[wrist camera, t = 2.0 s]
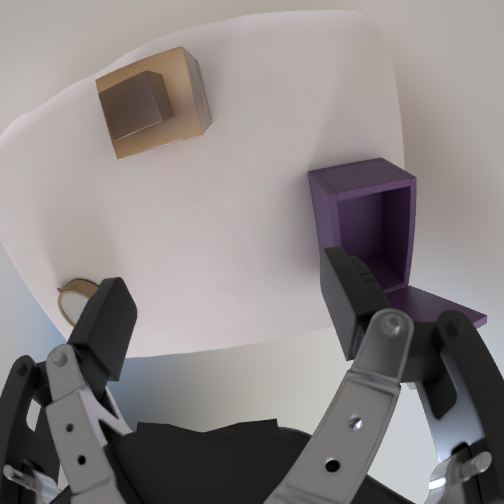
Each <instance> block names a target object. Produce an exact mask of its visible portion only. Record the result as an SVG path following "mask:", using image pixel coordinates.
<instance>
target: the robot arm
mask: <svg viewBox="0 0 504 504" xmlns="http://www.w3.org/2000/svg"><path fill="white" fill-rule="evenodd" d="M320 284H321V291H322V295H323V297H324V300H325V303H326V305H327V308H328V311H329V313H330V316H331V319H332V322H333V324H334V327H335V330H336V333H337V335H338V338H339V341H340V344H341V347H342V349H343V352H344V355H345V358H346V361H349V360H354V359H355V360H354V362H353V364H352V366H351V368H350V370H348V371H347V372H346V374H345V376H344V378H343V380H342V382H341V384H340V386H339V388H338V390H337V392H336V394H335V396H334V398H333V400H332V402H331V403H330V405H329V407H328V409H327V411H326V413H325V415H324V416H323V418H322V420H321V422H320V423H319V425H318V427H317V429H316V430H315V432H314V433H313V435H310V434H308V433H305V432H303V431H300V430H297V429H293V428H287V427H279V426H278V424H277V419H270V420H261V421H252V422H241V423H236V424H234V425H230V426H227V427H223V428H219V429H215V430H212V431H208V432H204V433H203V432H196V431H192V430H188V429H184V428H180V427H177V426H173V425H170V424H157V423H142V422H138V424H137V431H134V432H133V431H132V430H131V429H130V428H129V427H128V425H127V424H126V422H125V421H124V419H123V417H122V415H121V413H120V411H119V409H118V407H117V405H116V403H115V401H114V399H113V396H112V394H111V392H110V390H109V389H108V387H107V386H106V385H107V381H119V377H120V374H121V370H122V366H123V363H124V359H125V356H126V352H127V349H128V345H129V342H130V339H131V335H132V332H133V329H134V326H135V323H136V320H137V308H136V305H135V303H134V301H133V299H132V297H131V295H130V293H129V291H128V289H127V287H126V285H125V283H124V281H123V279H122V278H121V277H115V278H108V279H104V280H103V281H102V282H101V284H100V286H99V288H98V290H97V292H95V293H94V294H93V295H92V296H91V297H90V299H89V300H88V301H87V303H86V305H85V307H84V309H83V311H82V313H81V315H80V319H78V321H77V323H76V325H75V327H74V329H73V331H72V333H71V335H70V338H69V340H68V342H67V344H62V345H59V346H57V347H55V348H54V349H53V350H52V351H51V352H50V354H49V355H48V357H47V360H46V361H43V362H40V363H35V361H34V360H33V359H32V358H31V357H30V356H28V355H24V356H21V357H20V358H18V359H17V360H16V361H15V363H14V364H13V366H12V368H11V371H10V373H9V375H8V378H7V381H6V383H5V386H4V389H3V391H2V394H1V397H0V504H415V503H413V502H411V501H410V500H408V499H406V498H404V497H403V496H401V495H399V494H398V493H396V492H394V491H393V490H391V489H389V488H388V487H386V486H385V485H383V484H381V483H380V482H378V481H377V480H375V479H374V478H372V477H371V476H369V475H368V474H367V472H368V470H369V468H370V466H371V464H372V462H373V460H374V457H375V456H376V453H377V451H378V449H379V447H380V444H381V442H382V440H383V437H384V435H385V433H386V430H387V428H388V425H389V422H390V420H391V417H392V415H393V412H394V409H395V406H396V403H397V400H398V397H399V394H400V390H401V385H400V383H411V382H414V383H415V386H416V388H417V391H418V394H419V397H420V400H421V403H422V406H423V408H424V412H425V415H426V417H427V421H428V424H429V427H430V431H431V434H432V437H433V441H434V444H435V448H436V451H437V455H438V459H439V464H438V465H437V467H436V468H435V469H434V471H433V473H432V475H431V478H430V493H429V496H428V498H427V500H426V502H425V503H424V504H504V380H503V377H502V375H501V373H500V371H499V370H498V367H497V366H496V363H495V362H494V360H493V358H492V356H491V354H490V353H489V350H488V349H487V347H486V345H485V343H484V342H483V340H482V338H481V336H480V335H479V333H478V331H477V330H476V328H475V326H474V325H473V323H472V322H471V320H470V319H469V317H468V316H467V315H465V314H464V313H462V312H460V311H458V310H445V311H443V312H442V313H441V314H440V315H439V316H438V318H437V321H436V322H417V321H412V320H411V318H410V317H409V316H408V315H407V314H406V313H404V312H402V311H400V310H397V309H394V308H393V307H392V305H391V303H390V302H389V300H388V298H387V297H386V295H385V293H384V292H383V290H382V288H381V287H380V285H379V284H378V282H377V281H376V279H375V277H374V276H373V274H371V271H370V269H369V268H368V266H367V265H366V263H365V262H363V261H362V260H360V259H359V258H358V257H356V256H352V257H348V256H347V254H346V252H345V251H344V249H343V247H342V246H341V245H338V246H331V247H325V248H321V259H320ZM32 399H34V400H35V401H36V402H37V403H38V404H39V405H41V409H40V412H39V416H38V420H37V424H36V429H35V432H34V431H32V430H31V429H30V428H29V427H28V425H27V422H26V417H27V413H28V409H29V406H30V403H31V400H32ZM60 462H61V465H62V468H63V470H64V473H65V476H66V478H67V481H68V483H69V485H68V486H67V487H66V488H65V489H64V490H63V491H62V490H60V489H58V487H57V485H58V476H59V467H60Z"/></svg>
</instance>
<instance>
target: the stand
mask: <svg viewBox="0 0 504 504" xmlns="http://www.w3.org/2000/svg"><path fill="white" fill-rule="evenodd" d="M146 70H148V71H152V72H156V73H159V74H162V77H163V80H164V83H165V87H166V90H167V93H168V96H169V100H170V103H171V106H172V109H173V112H174V115H175V116H174V117H172V118H170V119H167V120H164V121H162V122H159V123H157V124H154V125H151V126H149V127H146V128H144V129H142V130H139V131H137V132H134V133H132V134H130V135H128V136H125V137H123V138H121V139H119V140H116V141H114V140H113V137H112V135H111V132H110V129H109V126H108V123H107V120H106V117H105V120H106V123H107V127H108V130H109V134H110V137H111V140H112V144H113V147H114V150H115V153H116V156H117V159H118V160H121V159H124V158H126V157H129V156H132V155H135V154H138V153H141V152H144V151H147V150H150V149H153V148H156V147H159V146H162V145H166V144H169V143H172V142H176V141H179V140H183V139H186V138H190V137H194V136H198V135H201V134H203V133H204V132H205V131H206V130H207V128H208V127H209V126H210V125H211V124H212V119H211V115H210V111H209V107H208V102H207V98H206V94H205V90H204V86H203V81H202V77H201V73H200V69H199V64H198V61H197V60H196V59H195V58H194V57H193V56H192V55H191V54H190V53H189V52H187V51H186V50H185V49H184V48H183V47H178V48H175V49H172V50H168V51H165V52H162V53H159V54H156V55H154V56H151V57H148V58H145V59H143V60H140V61H137V62H135V63H132V64H130V65H127V66H125V67H123V68H120V69H118V70H116V71H114V72H111V73H109V74H107V75H105V76H103V77H101V78H99V79H97V80H96V85H97V89H98V93H100V92H102V91H104V90H106V89H108V88H110V87H112V86H114V85H116V84H118V83H120V82H122V81H124V80H126V79H128V78H130V77H132V76H135V75H137V74H139V73H141V72H144V71H146ZM102 109H103V108H102ZM103 113H104V111H103ZM104 116H105V114H104Z"/></svg>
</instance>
